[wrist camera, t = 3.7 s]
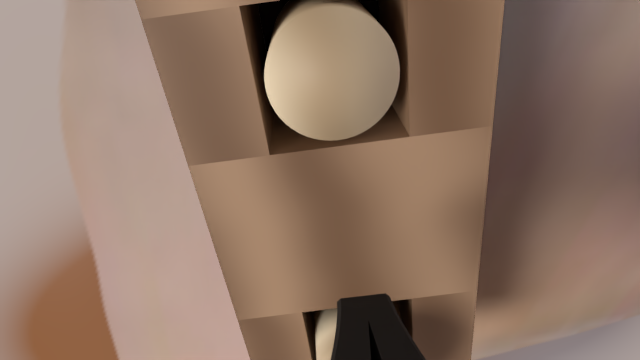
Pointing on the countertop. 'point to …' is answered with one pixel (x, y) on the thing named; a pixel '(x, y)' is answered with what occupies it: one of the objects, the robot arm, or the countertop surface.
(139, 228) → the countertop surface
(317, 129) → the peg
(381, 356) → the robot arm
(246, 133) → the collar bar
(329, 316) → the peg
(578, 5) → the countertop surface
